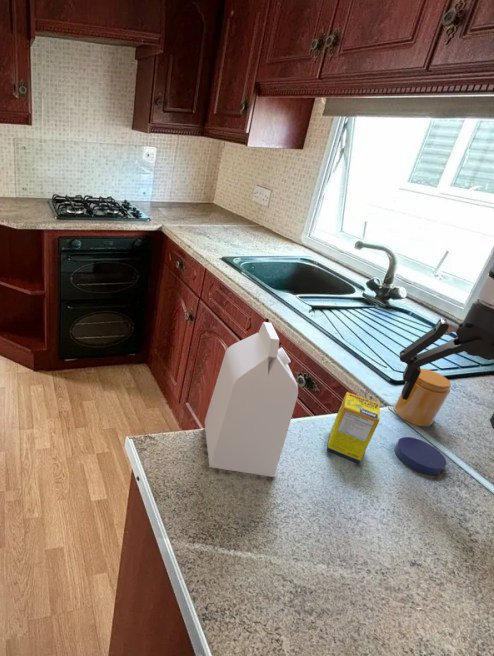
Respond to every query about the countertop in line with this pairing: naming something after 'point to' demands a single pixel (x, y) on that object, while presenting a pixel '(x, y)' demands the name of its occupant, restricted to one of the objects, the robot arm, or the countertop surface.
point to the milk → (251, 405)
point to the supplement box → (353, 427)
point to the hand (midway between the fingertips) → (447, 410)
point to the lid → (420, 456)
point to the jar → (424, 399)
